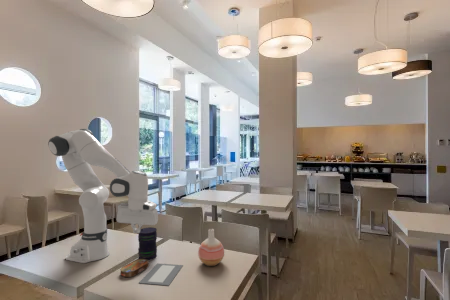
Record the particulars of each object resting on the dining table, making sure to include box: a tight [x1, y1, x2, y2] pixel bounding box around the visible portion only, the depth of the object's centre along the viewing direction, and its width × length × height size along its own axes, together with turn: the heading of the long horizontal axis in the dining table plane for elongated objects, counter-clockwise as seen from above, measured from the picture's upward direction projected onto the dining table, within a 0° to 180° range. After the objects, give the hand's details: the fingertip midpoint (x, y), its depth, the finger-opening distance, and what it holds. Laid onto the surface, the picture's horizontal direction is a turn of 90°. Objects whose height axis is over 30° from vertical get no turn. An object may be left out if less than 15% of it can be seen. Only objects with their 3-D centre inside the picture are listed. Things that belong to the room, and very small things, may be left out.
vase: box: [197, 228, 225, 267], centre depth 127 cm, size 14×14×18 cm
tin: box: [120, 258, 150, 278], centre depth 120 cm, size 15×3×8 cm
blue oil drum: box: [137, 226, 158, 261], centre depth 136 cm, size 10×10×15 cm
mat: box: [138, 262, 184, 287], centre depth 117 cm, size 14×19×1 cm
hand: (136, 232), depth 119 cm, fingers closed
